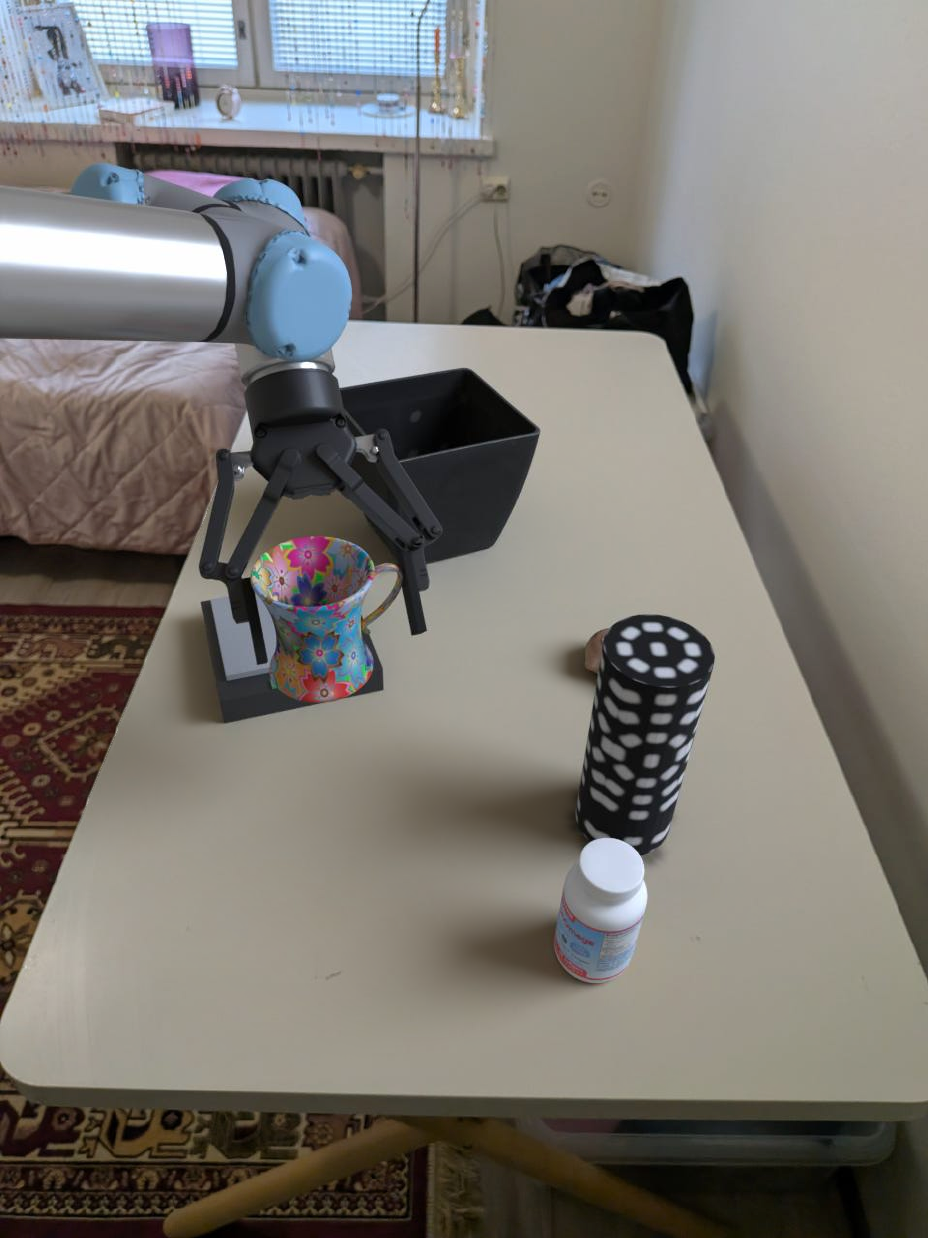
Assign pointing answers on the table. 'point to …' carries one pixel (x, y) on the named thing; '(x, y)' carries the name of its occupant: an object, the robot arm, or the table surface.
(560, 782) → the table surface
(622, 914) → the pill bottle
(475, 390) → the flower pot
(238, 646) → the scale
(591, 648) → the oil lamp
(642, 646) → the spotted tube
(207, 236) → the robot arm
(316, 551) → the mug
